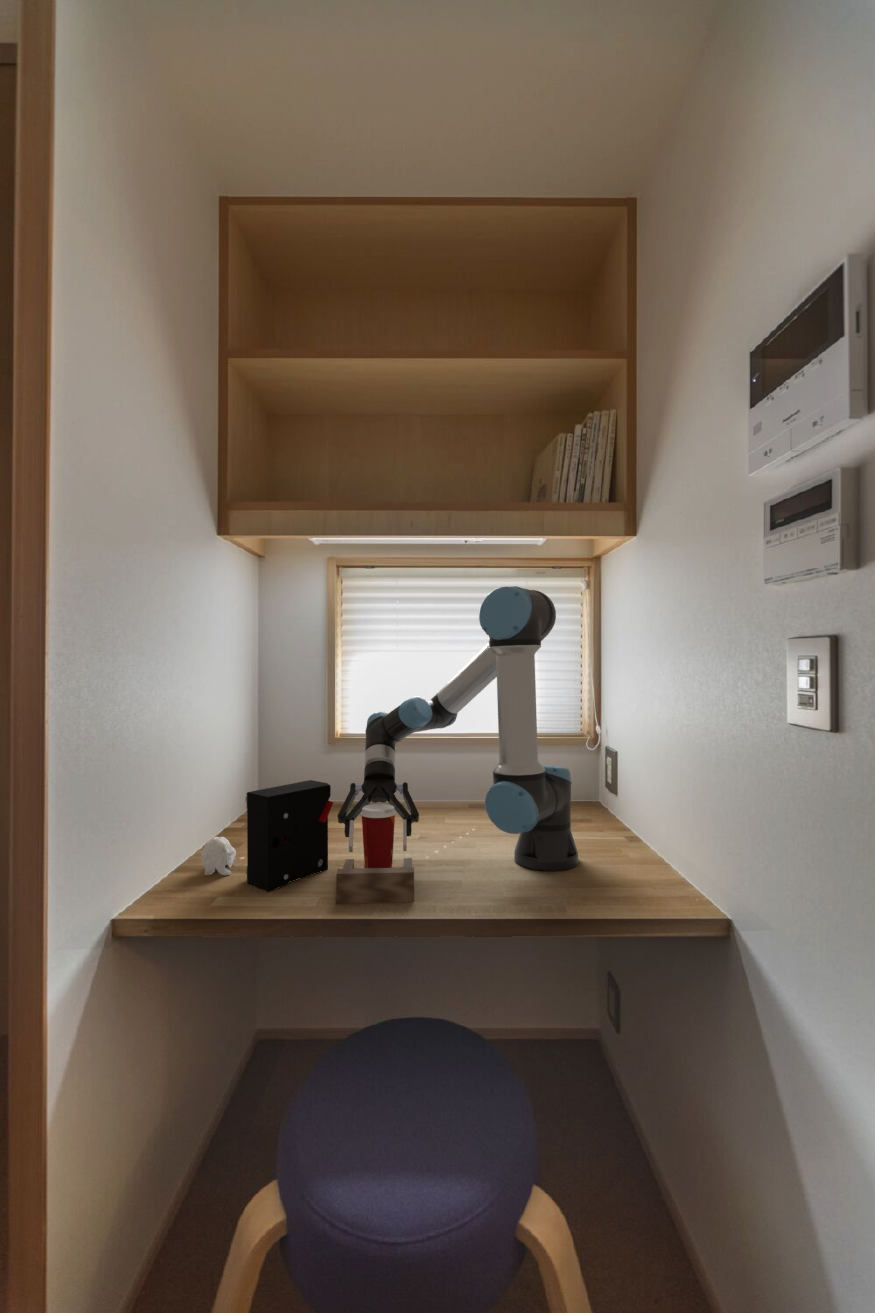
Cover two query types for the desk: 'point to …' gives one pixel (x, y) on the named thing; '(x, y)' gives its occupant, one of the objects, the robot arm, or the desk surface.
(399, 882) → the guide channel
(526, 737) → the robot arm
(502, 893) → the desk surface
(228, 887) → the desk surface
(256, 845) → the electrical component
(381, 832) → the coffee cup
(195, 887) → the desk surface
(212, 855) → the white figurine
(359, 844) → the desk surface
